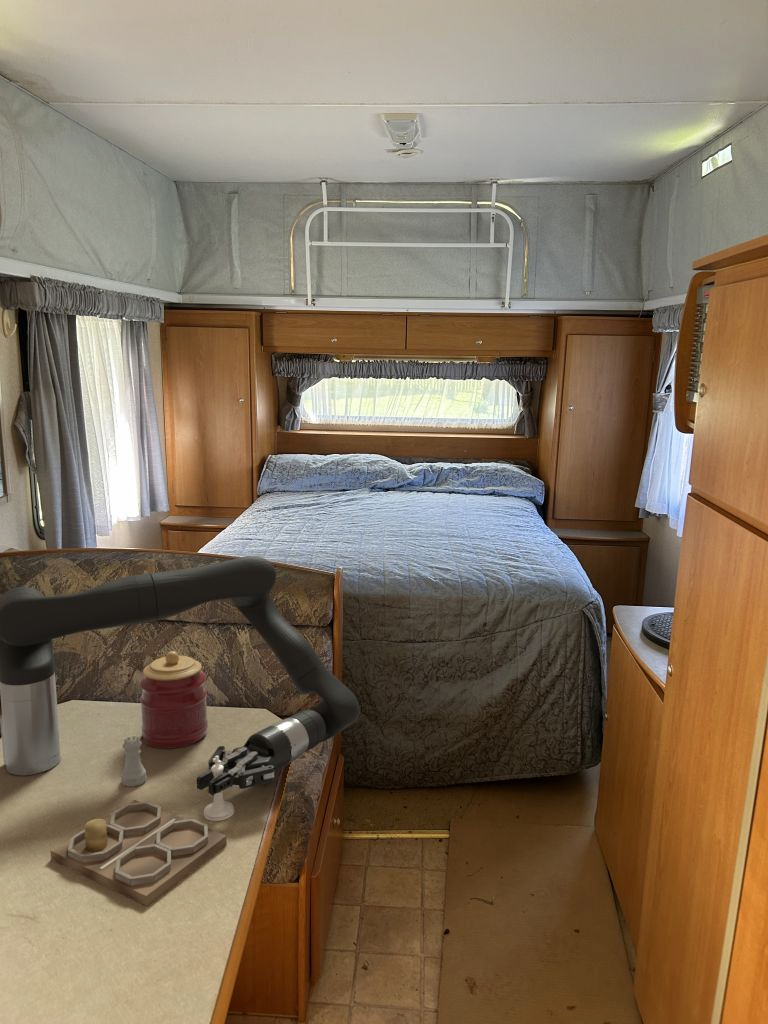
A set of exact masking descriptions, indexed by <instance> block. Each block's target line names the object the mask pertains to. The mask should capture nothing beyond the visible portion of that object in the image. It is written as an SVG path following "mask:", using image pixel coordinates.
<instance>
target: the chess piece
mask: <svg viewBox="0 0 768 1024" xmlns="http://www.w3.org/2000/svg"><path fill="white" fill-rule="evenodd" d="M213 762H215V765H214V766H212V768H211V770H212V773H213V775H214V779H215V778H217V777H218V776H220V775H222V772H223V769H224V767H223V765H220V764H222V761H220V760H219V756H215V758H213ZM212 780H213V779H212ZM213 796H214V797H213V802H211V803H209V804H207V805H206V806H205V808H204V809H203V817H204V818H205V819H206V820H208V821H212V822H213V821H214V822H220V821H224V820H227V819H230V818H231V817H232V816H233V815H234V813H235V808H234V804H233V803H231V802H230V801H226V800H225V799H224V795H223V791H221V792H219V793H216V794H215V795H213Z"/></svg>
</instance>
